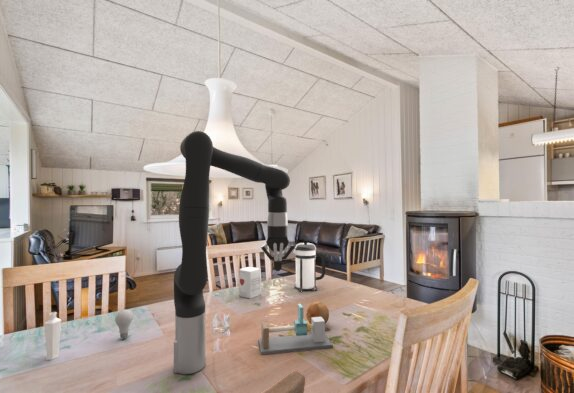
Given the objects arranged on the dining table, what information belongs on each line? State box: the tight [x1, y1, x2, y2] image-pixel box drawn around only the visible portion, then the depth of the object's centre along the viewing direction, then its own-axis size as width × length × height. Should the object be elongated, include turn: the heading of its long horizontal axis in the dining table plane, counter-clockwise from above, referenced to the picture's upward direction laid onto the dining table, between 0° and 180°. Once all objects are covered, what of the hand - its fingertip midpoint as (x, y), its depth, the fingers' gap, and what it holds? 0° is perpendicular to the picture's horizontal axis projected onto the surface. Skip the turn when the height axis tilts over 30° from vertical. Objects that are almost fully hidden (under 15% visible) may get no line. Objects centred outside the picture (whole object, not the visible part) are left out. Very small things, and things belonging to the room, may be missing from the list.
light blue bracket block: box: [293, 303, 308, 336], centre depth 110 cm, size 4×4×10 cm
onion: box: [305, 300, 330, 325], centre depth 126 cm, size 10×10×10 cm
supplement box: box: [238, 266, 262, 300], centre depth 166 cm, size 9×9×15 cm
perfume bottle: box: [43, 311, 62, 361], centre depth 101 cm, size 5×4×15 cm
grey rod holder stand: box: [258, 317, 334, 355], centre depth 109 cm, size 26×10×8 cm, turn 101°
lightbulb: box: [114, 309, 134, 340], centre depth 114 cm, size 6×6×11 cm
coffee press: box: [292, 238, 326, 293], centre depth 179 cm, size 17×16×30 cm
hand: (277, 270), depth 111 cm, fingers closed
